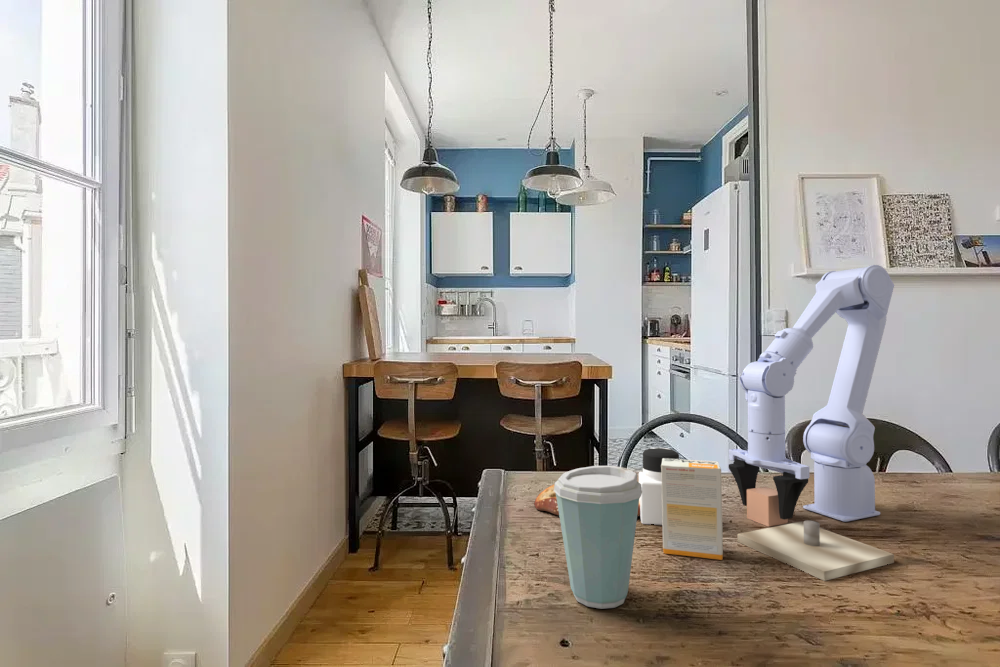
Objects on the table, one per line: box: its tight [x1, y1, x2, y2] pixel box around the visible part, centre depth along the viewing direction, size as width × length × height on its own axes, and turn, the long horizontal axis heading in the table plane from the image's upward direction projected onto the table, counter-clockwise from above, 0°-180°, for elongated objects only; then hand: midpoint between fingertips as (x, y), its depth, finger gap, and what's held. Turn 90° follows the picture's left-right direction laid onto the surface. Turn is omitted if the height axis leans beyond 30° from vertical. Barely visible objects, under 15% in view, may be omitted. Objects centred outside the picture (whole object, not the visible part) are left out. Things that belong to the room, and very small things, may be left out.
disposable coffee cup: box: [553, 465, 642, 610], centre depth 64 cm, size 11×11×15 cm
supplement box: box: [661, 458, 724, 561], centre depth 77 cm, size 8×5×13 cm, turn 71°
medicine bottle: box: [638, 447, 680, 526], centre depth 91 cm, size 7×7×12 cm
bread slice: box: [533, 484, 640, 517], centre depth 96 cm, size 18×18×4 cm
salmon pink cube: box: [746, 486, 789, 528], centre depth 89 cm, size 4×4×5 cm
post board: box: [737, 520, 895, 582], centre depth 76 cm, size 14×14×4 cm
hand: (766, 511), depth 89 cm, fingers open, 7 cm apart
